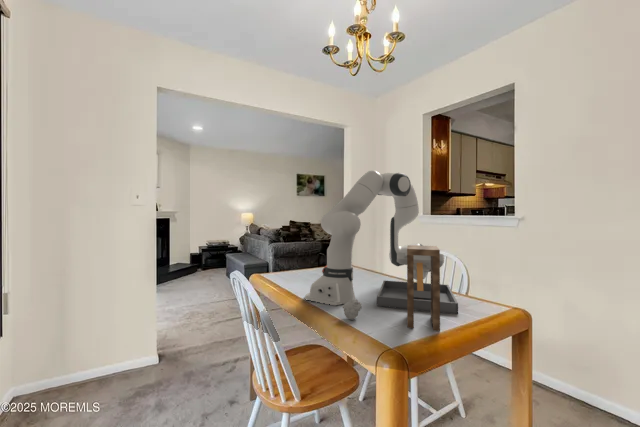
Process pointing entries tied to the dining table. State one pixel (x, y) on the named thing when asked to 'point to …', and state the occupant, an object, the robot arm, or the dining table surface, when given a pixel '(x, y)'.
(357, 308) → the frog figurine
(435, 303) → the frame
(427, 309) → the tray
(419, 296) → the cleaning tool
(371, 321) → the dining table surface
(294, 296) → the dining table surface
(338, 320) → the dining table surface
